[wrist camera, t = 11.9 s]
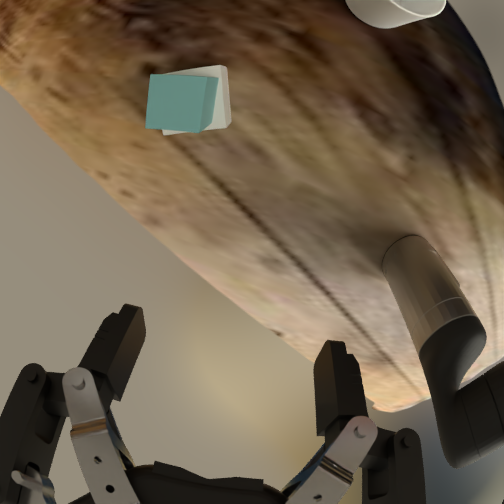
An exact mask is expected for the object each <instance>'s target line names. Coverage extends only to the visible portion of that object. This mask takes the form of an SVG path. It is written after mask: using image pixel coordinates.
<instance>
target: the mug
mask: <svg viewBox="0 0 504 504" xmlns="http://www.w3.org/2000/svg"><path fill="white" fill-rule="evenodd" d="M345 1H346V3H347V5H348V7H349V9H350V10H351V11H352V12H353V14H354V15H355V16H356V17H358V18H359V19H360V20H362V21H363V22H365V23H367V24H369V25H371V26H374V27H378V28H393V27H397V26H400V25H404V24H407V23H410V22H414V21H417V20H421V19H425V18H428V17H432V16H435V15H438V14H439V13H440V12H441V11H442V10H443V9H444V7H445V4H446V0H345Z"/></svg>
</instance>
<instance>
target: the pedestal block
mask: <svg viewBox="0 0 504 504" xmlns="http://www.w3.org/2000/svg"><path fill="white" fill-rule="evenodd" d="M166 74H171V75H191V76H204V77H214V78H219V81H218V87H217V93H216V99H215V105H214V112H213V119H212V123H211V124H210V125H209V126H207V127H206V128H205V129H204V130H211V129H222V128H227V126H228V125H229V124H230V123H231V110H230V98H229V86H228V74H227V67H225V66H222V65H216V66H208V67H201V68H194V69H188V70H182V71H177V72H171V73H166ZM162 130H163V129H162ZM177 133H185V132H184V131H174V130H163V136H164V135H170V134H177Z"/></svg>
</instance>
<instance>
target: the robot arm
mask: <svg viewBox="0 0 504 504" xmlns="http://www.w3.org/2000/svg"><path fill="white" fill-rule="evenodd" d="M382 269H383V272H384V275H385V277H386V279H387V281H388V283H389V285H390V288H391V290H392V292H393V294H394V297H395V299H396V301H397V304H398V306H399V308H400V311H401V313H402V315H403V318H404V320H405V323H406V325H407V328H408V330H409V333H410V335H411V338H412V340H413V343H414V345H415V348H416V351H417V354H418V356H419V359H420V362H421V365H422V367H423V371H424V374H425V377H426V380H427V384H428V387H429V390H430V394H431V398H432V402H433V405H434V411H435V415H436V421H437V426H438V431H439V436H440V441H441V445H442V449H443V452H444V455H445V458H446V460H447V462H448V463H449V464H450V465H451V466H452V467H453V468H456V469H457V468H462V467H465V466H467V465H469V464H471V463H473V462H475V461H477V460H479V459H481V458H482V457H485V456H487V455H488V454H490V453H492V452H494V451H495V450H497V449H498V448H500V447H502V446H503V445H504V361H503V362H501V363H499V364H497V365H496V366H495V367H493V368H492V369H490V370H489V371H487V372H486V373H484V375H481V376H480V377H478V378H477V379H475V380H474V381H472V382H471V383H469V384H467V385H466V386H464V387H463V388H461V389H460V390H458V388H459V385H460V383H461V381H462V379H463V377H464V375H465V374H466V372H467V371H468V369H469V368H470V367H471V365H472V364H473V363H474V362H475V360H476V359H477V358H478V356H479V355H480V354H481V352H482V350H483V348H484V346H485V344H486V337H487V336H486V332H485V329H484V327H483V325H482V323H481V322H480V320H479V318H478V317H477V315H476V313H475V312H474V310H473V308H472V307H471V305H470V303H469V302H468V300H467V299H466V297H465V295H464V294H463V292H462V291H461V289H460V284H459V283H458V281H457V280H456V278H455V277H454V275H453V274H452V272H451V271H450V269H449V268H448V266H447V265H446V264H445V262H444V261H443V259H442V258H441V257H440V255H439V254H438V253H437V251H436V250H435V249H434V248H432V247H431V246H430V244H429V243H428V242H427V241H426V240H425V239H424V238H422V237H420V236H408V237H405V238H402V239H400V240H398V241H397V242H395V243H394V244H393V245H392V246H391V247H390V248H389V249H388V251H387V252H386V254H385V256H384V259H383V263H382ZM145 336H146V328H145V322H144V316H143V309H142V308H141V307H138V306H134V305H130V304H124V305H123V307H122V309H121V310H120V312H119V314H117V313H111V314H110V315H109V316H108V317H106V318H105V319H104V320H103V322H102V324H101V326H100V327H99V330H98V331H97V333H96V334H95V338H93V340H92V342H91V343H90V345H89V347H88V349H87V351H86V353H85V355H84V357H83V358H82V360H81V362H80V364H79V365H78V367H76V368H72V369H70V370H69V371H67V372H66V373H54V372H46V371H45V370H44V368H43V367H42V366H41V365H39V364H36V363H31V364H28V365H26V366H25V367H24V368H23V369H22V370H21V372H20V374H19V376H18V378H17V380H16V382H15V384H14V387H13V389H12V391H11V393H10V395H9V398H8V400H7V402H6V405H5V407H4V409H3V412H2V414H1V416H0V504H56V501H55V498H54V493H55V491H54V486H53V483H52V482H51V480H50V479H49V478H48V475H49V471H50V468H51V464H52V460H53V457H54V454H55V450H56V447H57V443H58V440H59V437H60V434H61V431H62V428H63V425H64V422H65V419H66V417H70V420H71V424H72V430H71V431H70V435H71V440H72V443H73V446H74V450H75V453H76V455H77V459H78V462H79V464H80V467H81V470H82V472H83V475H84V478H85V480H86V483H87V485H88V488H89V490H90V492H89V493H87V494H86V495H84V496H82V497H80V498H78V499H76V500H74V501H73V502H70V503H68V504H338V502H339V501H340V500H341V498H342V497H343V496H344V494H345V493H346V491H347V490H348V489H349V487H350V486H351V484H352V482H353V478H352V477H353V474H354V473H355V471H356V470H357V468H358V467H362V504H426V494H425V479H424V468H423V458H422V450H421V443H420V438H419V436H418V434H417V433H416V432H415V431H414V430H412V429H409V428H403V429H401V430H399V431H398V432H393V431H389V430H385V429H382V428H379V427H377V426H376V424H375V423H374V422H373V421H372V420H371V419H370V418H369V416H368V413H367V407H366V401H365V395H364V389H363V384H362V378H361V372H360V367H359V363H358V362H357V360H356V358H355V357H354V355H353V354H347V351H346V346H345V343H344V342H343V341H332V340H327V341H326V342H325V344H324V346H323V347H322V349H321V351H320V353H319V355H318V357H317V358H316V361H315V364H314V387H315V405H316V426H317V427H316V428H317V436H325V443H324V444H323V445H322V446H321V448H320V449H319V450H318V451H317V452H316V454H315V455H314V456H313V457H312V459H311V460H310V461H309V462H308V463H307V464H306V466H305V467H304V468H303V469H302V470H301V471H300V472H299V473H298V475H296V476H295V477H294V478H293V479H292V480H291V481H290V482H289V483H288V484H287V485H286V486H285V487H284V488H283V489H282V490H281V491H279V490H277V489H275V488H273V487H271V486H269V485H267V484H263V479H252V478H241V477H232V478H218V479H206V478H203V477H201V476H199V475H197V474H194V473H192V472H189V471H187V470H185V469H183V468H181V467H177V466H173V465H169V464H165V463H161V462H157V461H155V462H154V465H141V466H135V464H134V462H133V459H132V457H131V455H130V453H129V451H128V449H127V448H126V446H125V444H124V442H123V440H122V437H121V435H120V432H119V430H118V427H117V425H116V422H115V419H114V417H113V414H112V411H111V409H110V405H111V402H112V400H113V399H114V400H117V401H121V398H122V395H123V393H124V390H125V388H126V385H127V383H128V380H129V378H130V375H131V373H132V370H133V368H134V365H135V363H136V360H137V358H138V355H139V353H140V350H141V348H142V346H143V343H144V341H145ZM502 504H504V500H503V502H502Z"/></svg>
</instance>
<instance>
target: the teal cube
mask: <svg viewBox="0 0 504 504" xmlns="http://www.w3.org/2000/svg"><path fill="white" fill-rule="evenodd" d="M218 81H219V78H214V77H204V76H191V75H171V74H151V75H150V83H149V92H148V102H147V113H146V126H145V128H149V129H163V130H174V131H184V132H193V133H200V132H201V131H202V130H204V129H205V128H206V127H207V126H209V125H210V124H211V123H212V119H213V112H214V105H215V99H216V93H217V87H218Z"/></svg>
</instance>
